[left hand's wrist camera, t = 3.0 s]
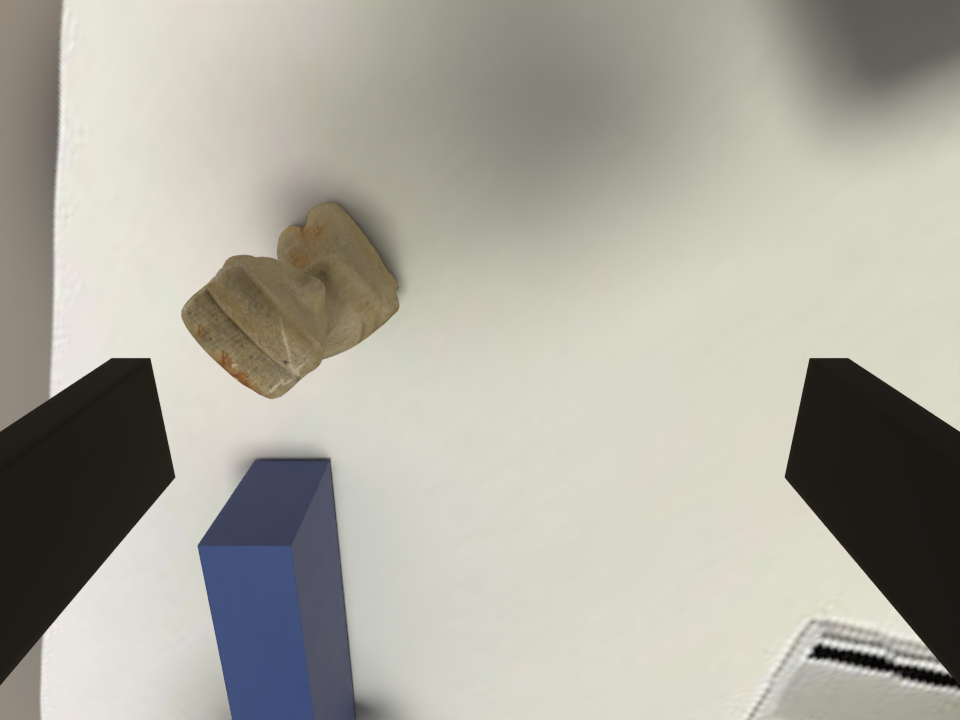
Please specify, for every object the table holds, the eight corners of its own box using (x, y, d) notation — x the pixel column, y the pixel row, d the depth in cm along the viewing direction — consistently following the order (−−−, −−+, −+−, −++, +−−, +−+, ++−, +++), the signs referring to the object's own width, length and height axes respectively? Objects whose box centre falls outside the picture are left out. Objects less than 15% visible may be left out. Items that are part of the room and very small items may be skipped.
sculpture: (347, 182, 35) (259, 227, 21) (423, 284, 37) (389, 386, 23) (269, 241, 36) (137, 320, 22) (347, 337, 38) (272, 464, 24)
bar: (254, 460, 41) (197, 545, 33) (329, 460, 41) (290, 546, 33) (297, 746, 51) (261, 867, 43) (358, 747, 51) (334, 868, 43)
